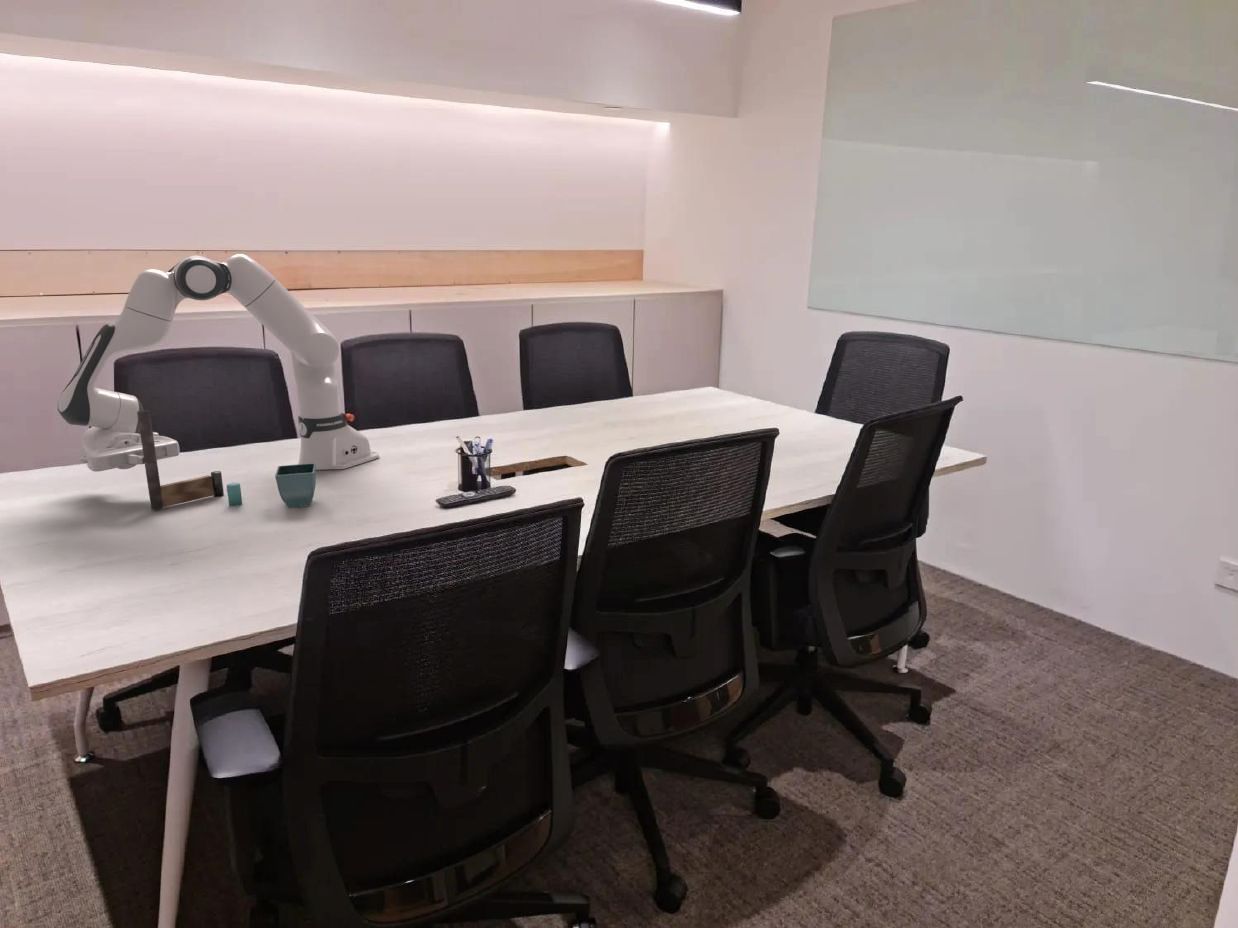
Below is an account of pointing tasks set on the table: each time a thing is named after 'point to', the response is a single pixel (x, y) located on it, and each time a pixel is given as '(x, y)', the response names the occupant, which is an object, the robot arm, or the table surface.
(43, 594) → the table surface
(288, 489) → the flower pot
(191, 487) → the brown board with post
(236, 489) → the post
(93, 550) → the table surface
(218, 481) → the hinge post
